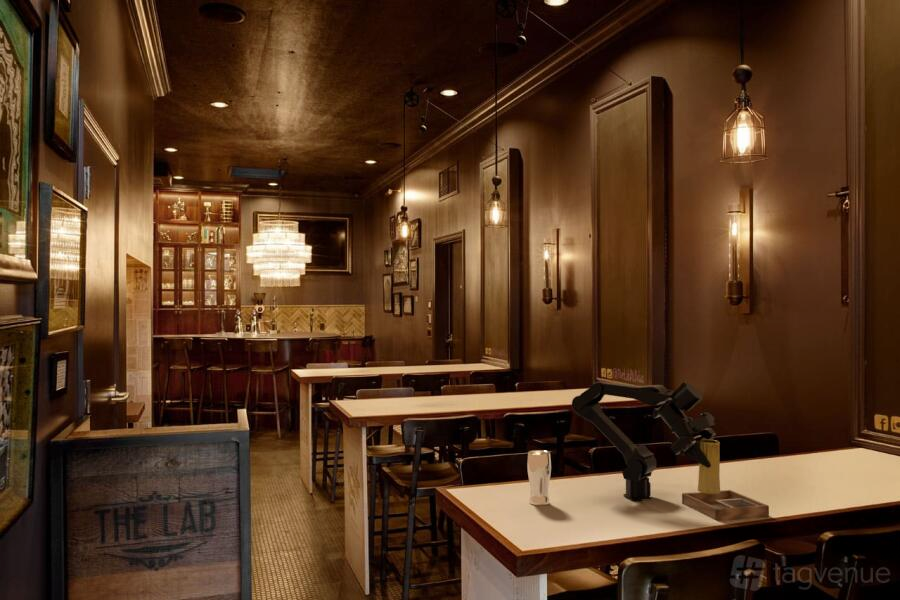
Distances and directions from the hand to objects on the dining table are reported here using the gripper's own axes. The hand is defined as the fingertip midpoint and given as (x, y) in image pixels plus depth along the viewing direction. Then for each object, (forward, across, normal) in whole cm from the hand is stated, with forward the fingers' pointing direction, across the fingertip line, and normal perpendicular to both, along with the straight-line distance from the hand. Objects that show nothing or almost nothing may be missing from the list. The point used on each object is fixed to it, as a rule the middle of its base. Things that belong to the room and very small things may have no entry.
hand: (714, 465), depth 190 cm
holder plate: (+13, +4, +5) cm, 15 cm away
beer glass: (-19, -25, +40) cm, 51 cm away
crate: (+11, +4, +8) cm, 14 cm away
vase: (+5, 0, +6) cm, 8 cm away
